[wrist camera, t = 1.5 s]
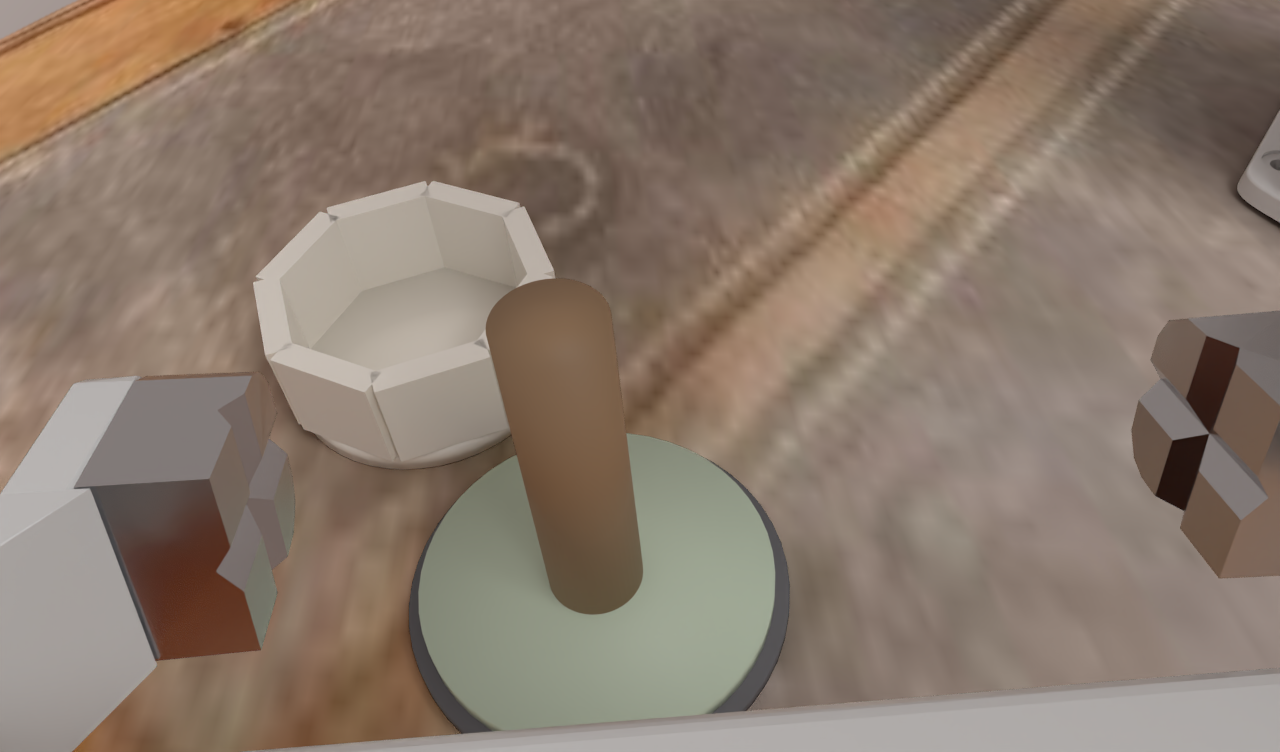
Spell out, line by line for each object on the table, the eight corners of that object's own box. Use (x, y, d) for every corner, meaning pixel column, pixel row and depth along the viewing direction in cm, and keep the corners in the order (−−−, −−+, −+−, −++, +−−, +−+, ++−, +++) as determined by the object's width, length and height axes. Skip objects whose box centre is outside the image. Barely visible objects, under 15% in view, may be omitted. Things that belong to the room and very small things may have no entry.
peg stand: (530, 409, 42) (469, 139, 32) (823, 505, 38) (851, 230, 28) (353, 670, 35) (209, 424, 25) (689, 821, 31) (668, 597, 21)
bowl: (394, 250, 50) (366, 163, 46) (605, 310, 46) (593, 221, 42) (244, 420, 43) (197, 335, 40) (474, 505, 40) (447, 420, 36)
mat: (527, 406, 43) (525, 396, 42) (839, 508, 38) (841, 499, 38) (337, 685, 35) (332, 677, 35) (699, 851, 31) (698, 844, 31)
